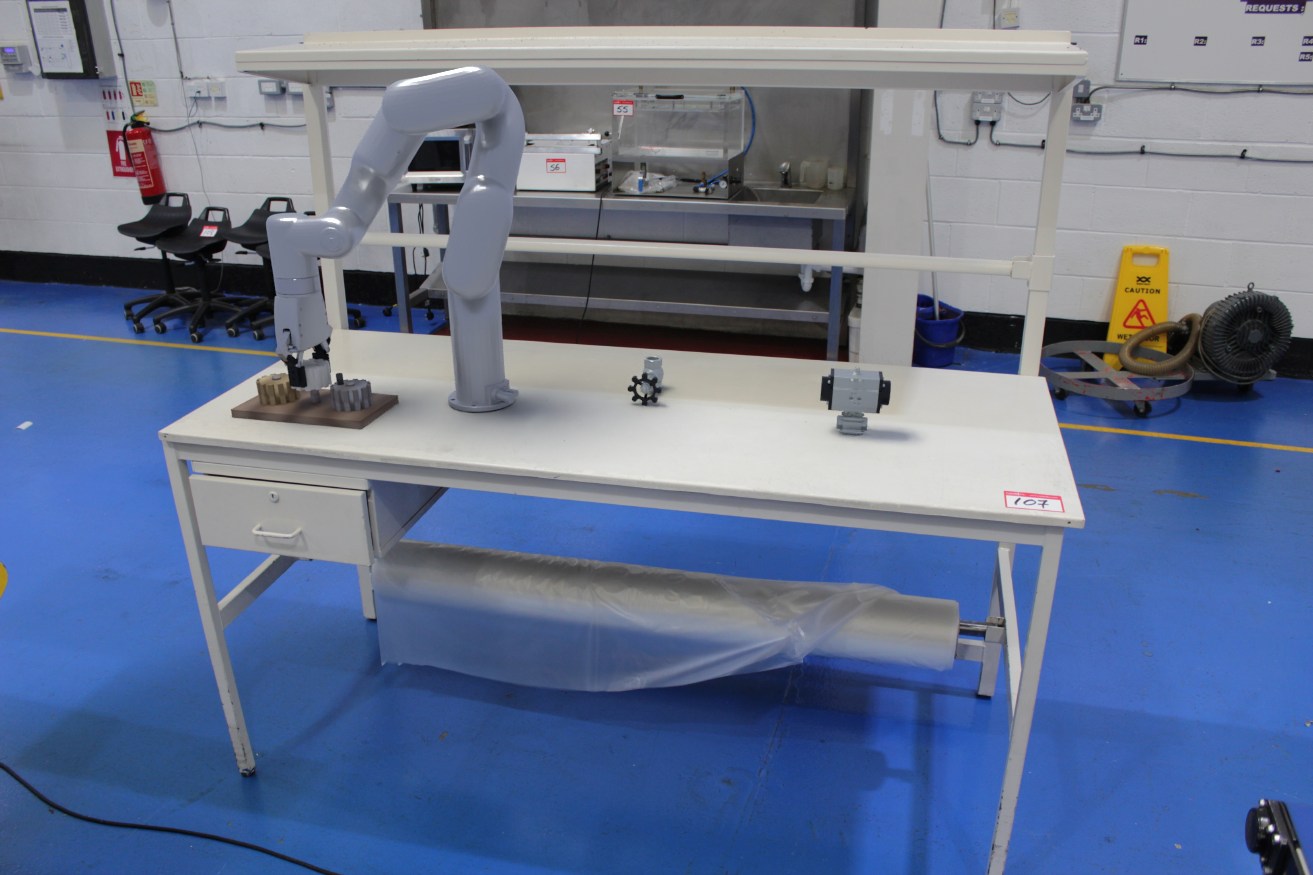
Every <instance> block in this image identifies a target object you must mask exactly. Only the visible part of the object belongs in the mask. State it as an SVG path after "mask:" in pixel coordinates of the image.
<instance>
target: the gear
mask: <svg viewBox="0 0 1313 875" xmlns="http://www.w3.org/2000/svg"><path fill="white" fill-rule="evenodd" d="M302 366H305V373H306V380H307V387H305V388H301V387H291V388H292V389H296V390H298V391H301V390H306V391H311V390H314V389H315V390H320V389H327V388H328V387H329V388H330V386H331V384H333V382H332V380H333V379H332V371H331V372H330V367H331V364H330V365H329V361H327V360H323V359H314V358H308V359H304V358H303V360H302Z"/></svg>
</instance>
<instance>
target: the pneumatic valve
mask: <svg viewBox="0 0 1313 875" xmlns="http://www.w3.org/2000/svg"><path fill="white" fill-rule="evenodd" d="M820 382H821V383H820V384H821V385H820V397H819V400H820V402H826V403H825V404H826V405H827V411H836V412H837V411H838V412H841V414H840V415H839V414H838V415H837V416H836V424H835V425H836V427H835V428H836V429H837V430H840V431H839V433H840V434H842V435H849V436H862V435H863V434H864V432H866V431H867V430H868V420H869V419H868V418H869V417H867V416H865V414H867V413H868V414H877V415H878V414H880V413H881V409H883V406H889V405H890V401H891V392H892V389H891V388H892V382H891V380H889V379H887V380H886V379H885V377H884V375H883V371H880V370H865V369H864V370H862V369H861V367H859V366H858V367H856V366H854V369H848V368H832V367H831V368H830V373H828V376H826V375H825V376H823V375H822V376H821V381H820Z"/></svg>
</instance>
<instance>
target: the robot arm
mask: <svg viewBox="0 0 1313 875" xmlns="http://www.w3.org/2000/svg"><path fill="white" fill-rule="evenodd" d="M525 123H526V122H525V117H524V112H523V109H522V106H521V103H520V101H519V100H518V97H517V96H516V94H515V93H514V91H513V90H512V89H511V87H510V85H509V84H508V83H507V82H506V81H505V80H504V79H503V78H502V76H500V75H499V74H498V73H497V72H496V71H495V70H494V69H492V68H491V67H488V66H486V65H482V64H471V65H467V66H463V67H459V68H455V69H450V70H446V71H442V72H437V73H433V74H428V75H423V76H418V77H412V78H411V77H410V78H405V79H404V78H403V79H399V80H397V81H395V82H393V83H391V84H390V85H389V86H388V87H387V88H386V90H385V92H384V94H383V96H382V100H381V105H380V108H379V110H378V111H377V113H376V114H375V116H374V118H373V120H372V121H371V124H370V125H369V126H368V128H367V129H366V132H364V135H363V136H362V138H361V140H360V141H359V143H358V144H357V146H356V148H355V150H354V152H353V153H352V157H351V162H350V167H349V171H348V173H347V176H346V178H345V180H344V182H343V184H342V186H341V188H340V190H339V191H338V193H337V194H336V196H335V198H334V199H333V201H332V203H331V204H330V206H329V208H328V210H327V211H326V212H325V213H324V214H322V215H320V216H315V217H310V216H309V215H308V214H305V213H302V212H301V213H300V212H282V213H275V214H272V215H269V217H267V219H266V222H265V227H266V234H267V241H268V242H267V243H268V247H269V248H268V249H269V254H270V255H269V256H270V261H271V267H272V274H273V282H274V287H275V289H274V290H275V294H276V295H275V296H274V303H273V305H274V306H273V307H274V308H273V313H274V314H273V318H274V329H275V330H274V332H275V339H276V344H277V347H276V348H275V354H276V355H277V357H279V358H280V360H281V361H282V363H283V364H284V366H285V367H286V369H287V374H288V376H289V383H290V386H291V387H301V388H305V387H307V380H306V373H305V366H302V360H303V359H304V352H306V351H308V350H310V349H312V350H313V352H312V353H311V357H312V358H314V359H323V360H327V361H329V365H330V372H331V373H332V369H331V362H330V354H329V353H330V351H331V348H330V344H331V342H332V339H331V337H332V334H333V332H334V331H333V327H332V326H331V325H330V324H329V321H328V314H327V310H326V309H327V308H326V304H325V300H324V297H323V293H322V287H321V286H322V285H321V279H320V272H319V264H318V258H321V259H328V260H340V259H343V258H344V259H345V258H346V257H348V256H350V255H351V254H352V253H353V252H354V250H356V248H357V246H358V245H360V243H361V242H362V240H363V238H364V237H365V235H366V234H367V232H368V230H369V228H370V227H371V226H372V223H373V222H374V220H375V219H376V217H377V215H378V214H379V212H380V211H381V208H382V207H383V206H384V204H385V202H386V201H387V199H388V197H389V195H390V194H391V193H392V192H393V191H394V190H395V189H396V188H397V186H398V184H399V182H400V181H401V179H402V177H403V176H404V175H405V172H406V171H407V169H408V168H409V166H410V164H411V163H412V160H413V159H414V157H415V156H416V154H417V152H418V151H419V149H420V147H421V146H422V144H423V143H424V142H425V139H426V138H427V136H428V134H430V133H435V132H440V131H445V130H450V129H454V128H458V127H461V126H466V125H472V124H475V137H474V140H473V141H474V142H473V146H472V150H471V155H470V161H469V165H468V169H467V173H466V177H465V180H464V184H463V186H462V188H461V190H460V192H459V195H458V197H457V200H456V204H455V209H454V213H453V217H452V222H451V226H450V231H449V234H448V239H447V243H446V247H445V252H444V254H443V260H442V264H441V276H442V281H443V282H444V284H445V287H446V289H447V290H446V291H447V303H448V304H447V305H448V316H449V317H448V318H449V330H450V342H451V354H452V364H453V374H454V387H455V390H454V391H453V392H451V393H450V394H449V395H448V397H447V402H448V405H449V406H450V407H452V408H453V409H455V410H457V411H462V412H472V413H473V412H474V413H481V412H492V411H495V410H501V409H503V408H506V407H508V406H510V405H511V404H513V403H514V402H515V400H516V398H517V397H519V393H520V392H519V390H518V389H515V388H511V387H510V379H507V378H506V372H505V370H506V369H505V357H504V356H505V355H504V340H503V339H504V338H503V324H502V322H503V319H502V318H503V317H502V305H501V304H502V302H501V284H500V269H501V266H502V262H503V258H504V254H505V250H506V247H507V243H508V239H509V236H510V231H511V229H512V228H511V227H512V222H513V219H514V218H513V216H514V201H513V200H514V195H515V190H516V185H517V181H518V176H519V174H520V167H521V162H522V158H523V155H524V154H523V153H524V148H525V142H526V124H525ZM293 347H296V348H293ZM293 354H296V356H295V357H296V358H295V357H294V356H293Z"/></svg>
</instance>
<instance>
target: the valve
mask: <svg viewBox="0 0 1313 875" xmlns="http://www.w3.org/2000/svg"><path fill="white" fill-rule="evenodd" d="M643 366H644V367H643V369H642V370H643V371H642V373H641V378H638V376H637V375H633V376H632V378H631V382H632V383H633V385H632V384H630V385H628V387H627V391H628V392H629V393H633V395H632V397H631V401H632V402H634V403H636V402H637V401H638V400H639V401H641V405H642V406H643V407H647V405H648V404H649V401H651V402H652V403H653V404H656V403H657V402H658V401H659V398H658V396H656V394H658V395H660V394H661V393H662V392H663V379H664V374H665V373H664V369H663V367H662V366H663V357H661V356H659V355H648V356H645V357H644V359H643ZM638 385H639V387H640V392H641V393H642V394H643V395H644V396H642V395H640V394H639V393H638V391H637V386H638ZM649 393H651V394H650V395H649V396H648V394H649Z"/></svg>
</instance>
